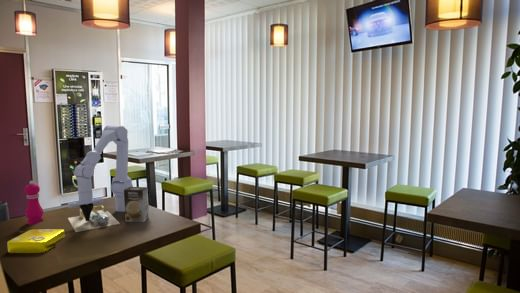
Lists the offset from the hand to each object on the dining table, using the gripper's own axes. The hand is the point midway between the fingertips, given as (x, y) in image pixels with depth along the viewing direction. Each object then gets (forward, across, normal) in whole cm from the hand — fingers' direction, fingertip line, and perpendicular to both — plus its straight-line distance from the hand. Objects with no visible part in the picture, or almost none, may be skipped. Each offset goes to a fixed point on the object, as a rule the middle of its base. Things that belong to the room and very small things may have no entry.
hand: (87, 220), depth 166 cm
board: (+2, -3, -1) cm, 3 cm away
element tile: (+3, +21, +14) cm, 25 cm away
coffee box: (+2, -19, +10) cm, 22 cm away
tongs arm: (+1, -3, 0) cm, 3 cm away
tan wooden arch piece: (+1, -4, -10) cm, 11 cm away
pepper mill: (+2, +19, -19) cm, 27 cm away
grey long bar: (+1, -6, +2) cm, 6 cm away
